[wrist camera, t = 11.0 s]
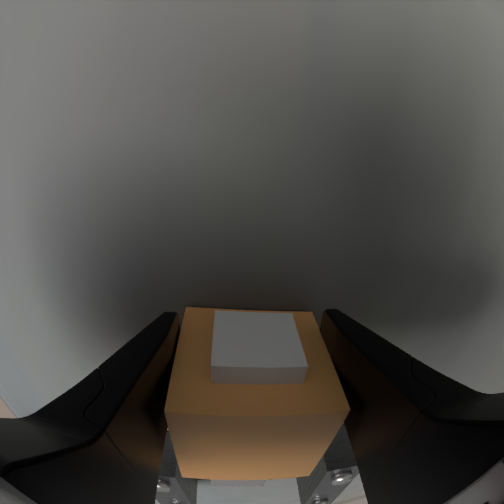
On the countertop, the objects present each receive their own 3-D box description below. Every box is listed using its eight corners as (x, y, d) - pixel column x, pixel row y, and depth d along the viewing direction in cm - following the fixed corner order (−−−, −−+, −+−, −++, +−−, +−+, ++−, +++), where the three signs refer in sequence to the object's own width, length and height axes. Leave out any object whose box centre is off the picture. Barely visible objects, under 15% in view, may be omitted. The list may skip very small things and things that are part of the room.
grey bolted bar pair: (352, 422, 14) (368, 469, 11) (323, 473, 17) (331, 507, 14) (142, 428, 13) (132, 477, 10) (168, 477, 16) (165, 513, 13)
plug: (273, 445, 14) (282, 510, 10) (196, 444, 14) (193, 510, 10) (315, 296, 10) (358, 393, 6) (185, 290, 10) (160, 394, 5)
